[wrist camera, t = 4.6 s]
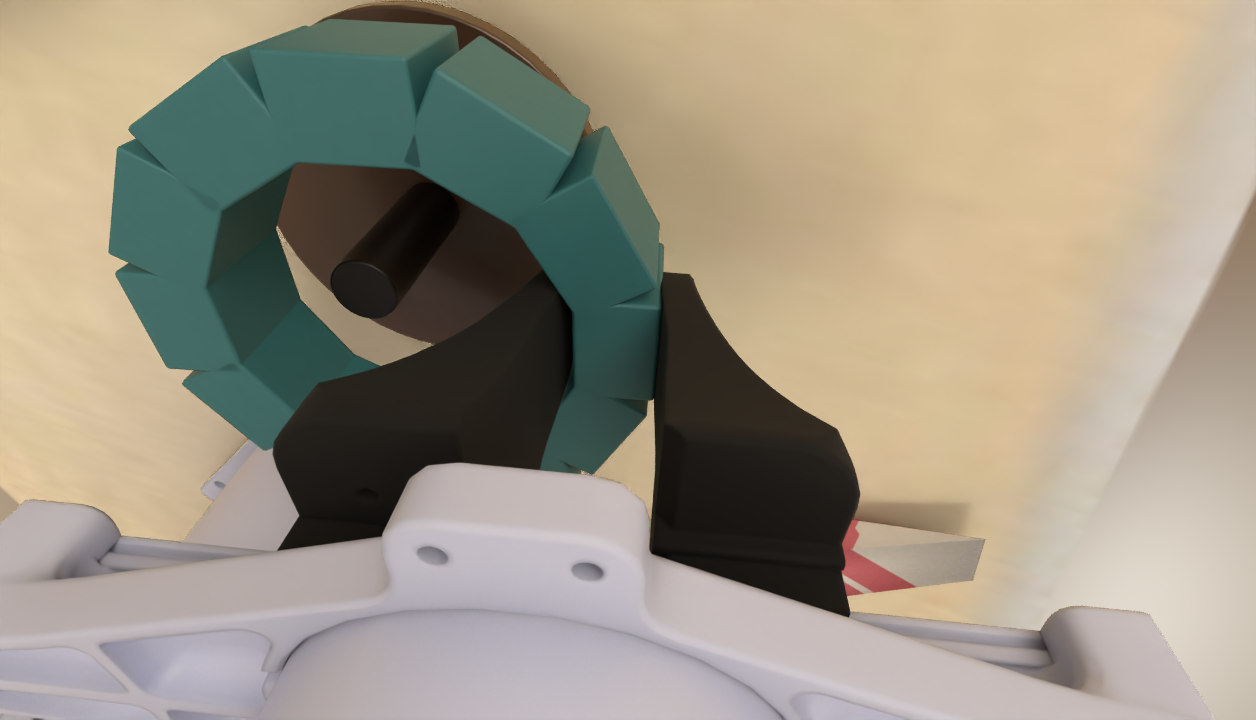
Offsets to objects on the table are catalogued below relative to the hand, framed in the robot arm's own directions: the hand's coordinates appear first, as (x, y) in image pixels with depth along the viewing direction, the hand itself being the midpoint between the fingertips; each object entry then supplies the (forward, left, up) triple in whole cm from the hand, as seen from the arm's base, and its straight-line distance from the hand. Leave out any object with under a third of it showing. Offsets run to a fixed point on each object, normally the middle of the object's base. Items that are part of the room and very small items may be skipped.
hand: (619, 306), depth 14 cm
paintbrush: (-7, -14, -5) cm, 16 cm away
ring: (-3, +3, -1) cm, 5 cm away
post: (-4, +4, -5) cm, 8 cm away
